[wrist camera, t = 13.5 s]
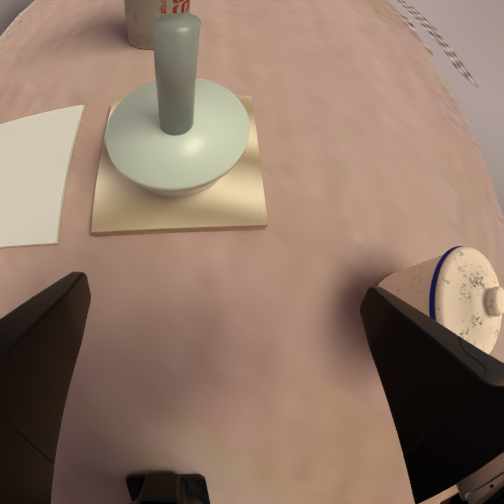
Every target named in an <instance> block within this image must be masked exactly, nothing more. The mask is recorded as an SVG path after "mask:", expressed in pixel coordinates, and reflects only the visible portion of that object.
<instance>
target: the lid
mask: <svg viewBox="0 0 504 504" xmlns="http://www.w3.org/2000/svg"><path fill="white" fill-rule="evenodd" d="M200 24H201V21H200V19H199V18H198V17H197V16H195V15H192V14H188V13H173V14H168V15H165V16H162V17H160V18H158V19H157V20H156V21H155V22H154V23H153V38H154V58H155V74H156V81H153V82H150V83H148V84H145V85H143V86H141V87H139V88H138V89H136V90H134V91H133V92H132V93H130V94H129V95H128V96H126V97H125V98H124V99H123V100H122V101H121V102H120V103H119V104H118V105H117V107H116V108H115V110H114V111H113V113H112V114H111V116H110V118H109V121H108V124H107V127H106V133H105V142H106V148H107V151H108V154H109V156H110V159H111V161H112V163H113V164H114V166H115V168H116V169H117V170H118V171H119V173H120V174H121V175H123V176H124V177H125V178H126V179H127V180H129V181H130V182H132V183H134V184H136V185H138V186H140V187H142V188H146V189H149V190H153V191H159V192H184V191H190V190H194V189H198V188H201V187H204V186H206V185H209V184H211V183H213V182H215V181H217V180H218V179H220V178H222V177H223V176H224V175H226V174H227V173H228V172H229V171H230V170H231V169H232V168H234V167H235V165H236V164H237V163H238V161H239V160H240V159H241V157H242V155H243V153H244V151H245V148H246V145H247V142H248V139H249V133H250V123H249V118H248V114H247V112H246V110H245V108H244V106H243V104H242V103H241V102H240V100H239V99H238V98H237V97H236V96H235V95H234V94H233V93H232V92H230V91H229V90H228V89H226V88H224V87H223V86H221V85H219V84H217V83H215V82H212V81H209V80H206V79H201V78H196V69H197V56H198V45H199V34H200Z"/></svg>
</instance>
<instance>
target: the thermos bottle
mask: <svg viewBox="0 0 504 504" xmlns="http://www.w3.org/2000/svg"><path fill="white" fill-rule="evenodd" d="M124 1H125V13H126V24H127V33H128V40H129V43H130V44H131V45H133V46H134V47H137V48H141V49H154V38H153V23H154V22H155V21H156V20H157V19H158V18H160V17H162V16H165V15H168V14H173V13H188V14H189V9H190V0H124Z"/></svg>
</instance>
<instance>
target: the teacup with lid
mask: <svg viewBox="0 0 504 504" xmlns="http://www.w3.org/2000/svg"><path fill="white" fill-rule="evenodd" d="M377 287H382V288H383V289H385V290H387V291H388V292H390V293H392V294H393V295H395V296H397V297H398V298H400V299H401V300H403V301H405V302H406V303H408V304H409V305H411V306H413V307H414V308H416V309H418V310H419V311H421V312H422V313H424V314H425V315H427V316H429V317H430V318H432V319H433V320H435V321H437V322H438V323H440V324H441V325H443V326H444V327H446V328H447V329H449V330H451V331H452V332H454V333H455V334H457V336H460V337H461V338H463V339H464V340H466V341H468V342H469V343H471V344H472V345H474V346H475V347H477V348H479V349H480V350H482V351H484V352H485V353H487V354H489V353H490V352H491V350H492V349H493V347H494V345H495V343H496V340H497V337H498V334H499V330H500V325H501V318H502V314H503V313H504V290H503V289H502V288H501V287H499V283H498V280H497V277H496V274H495V272H494V270H493V268H492V266H491V264H490V263H489V261H488V260H487V259H486V258H485V256H484V255H483V254H481V253H480V252H479V251H477V250H475V249H473V248H471V247H466V246H465V247H464V246H457V247H454V248H451V249H450V250H448V251H447V252H446V253H445V254H444V255H442V256H439V257H437V258H434V259H431V260H428V261H426V262H423V263H420V264H417V265H415V266H412V267H409V268H406V269H403V270H400V271H398V272H395V273H392V274H390V275H388V276H387V277H385V278H384V279H383V280H382V281H381V282H380V283H379V285H378V286H377Z"/></svg>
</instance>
